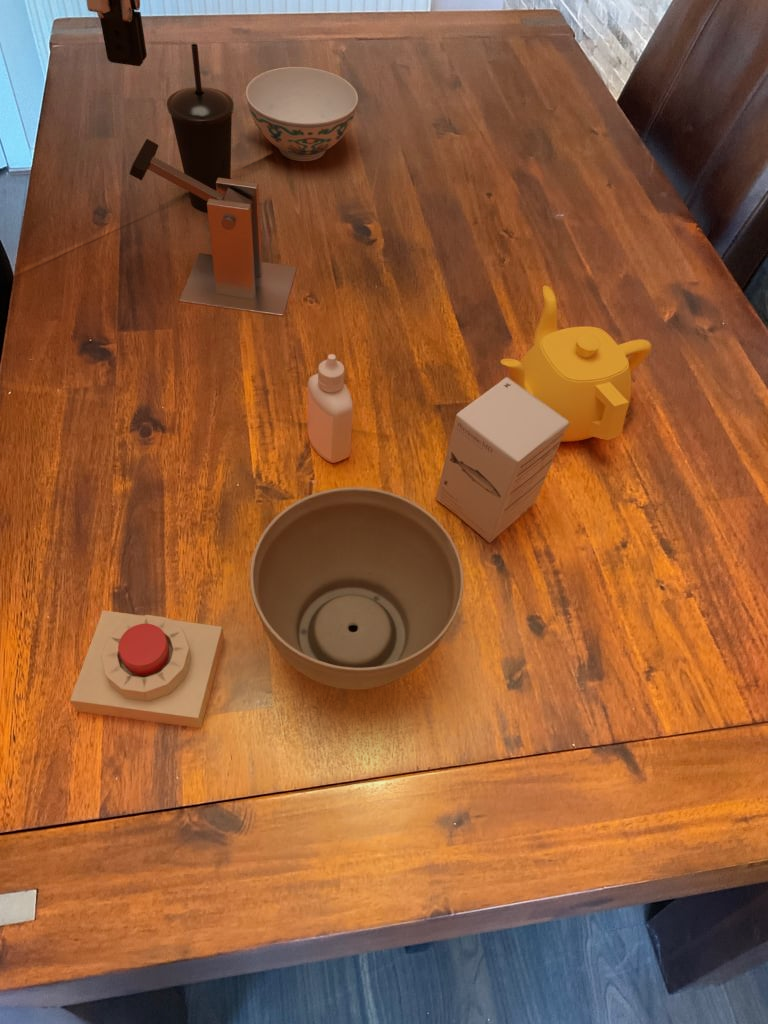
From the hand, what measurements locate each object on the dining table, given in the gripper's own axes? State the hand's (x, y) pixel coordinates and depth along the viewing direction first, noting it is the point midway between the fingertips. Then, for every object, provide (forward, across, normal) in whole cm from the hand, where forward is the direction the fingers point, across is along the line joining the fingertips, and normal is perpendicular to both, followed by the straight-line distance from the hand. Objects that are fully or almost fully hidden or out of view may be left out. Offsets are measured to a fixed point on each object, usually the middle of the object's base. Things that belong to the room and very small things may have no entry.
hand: (127, 59), depth 74 cm
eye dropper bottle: (+25, +22, +23) cm, 40 cm away
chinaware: (+25, -32, +11) cm, 43 cm away
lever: (+13, 0, +4) cm, 14 cm away
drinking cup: (+25, -15, +2) cm, 30 cm away
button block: (+25, +49, +12) cm, 56 cm away
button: (+21, +49, +12) cm, 55 cm away
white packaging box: (+25, +26, +39) cm, 54 cm away
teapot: (+25, +12, +46) cm, 54 cm away
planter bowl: (+25, +43, +28) cm, 57 cm away
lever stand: (+25, 0, +9) cm, 27 cm away
